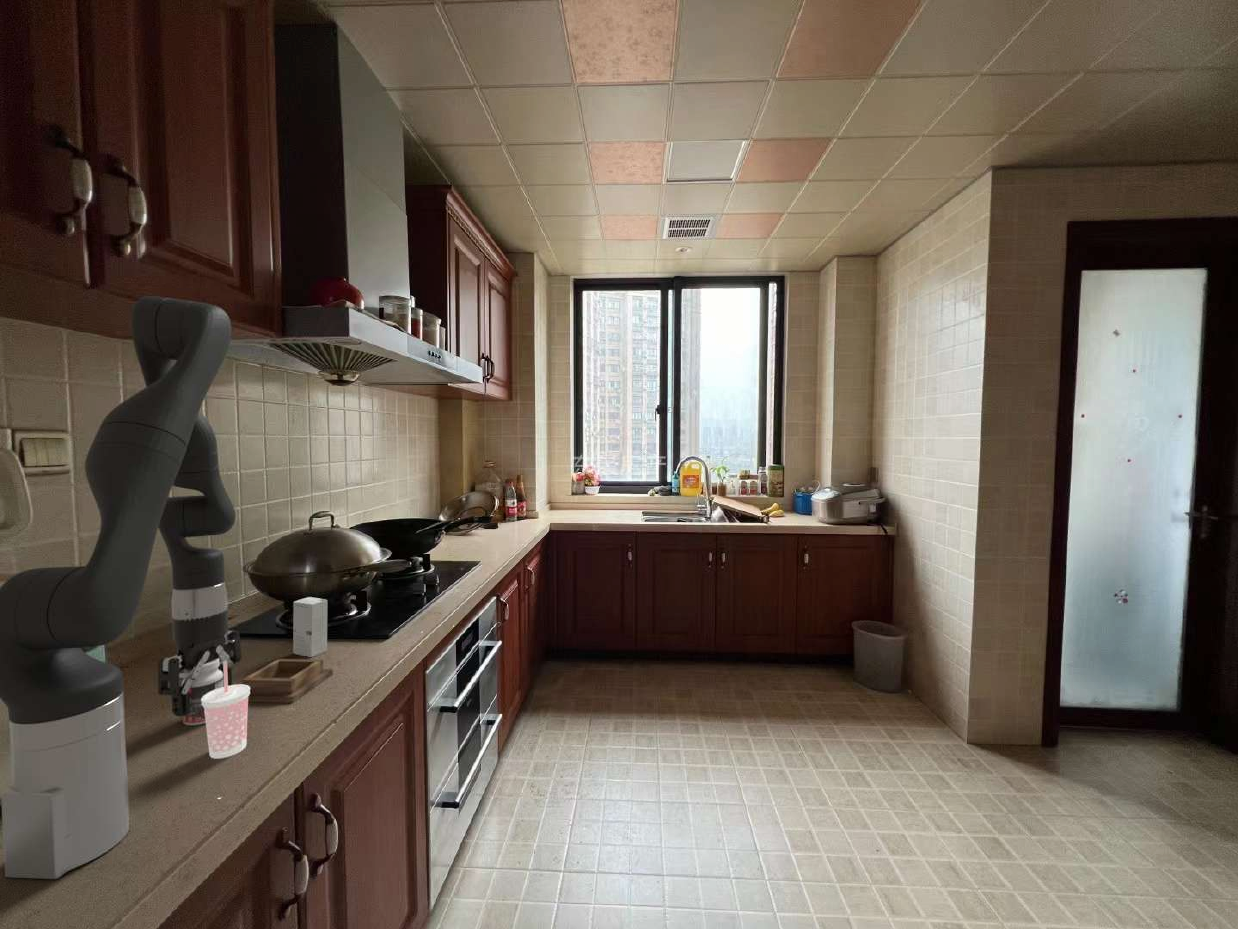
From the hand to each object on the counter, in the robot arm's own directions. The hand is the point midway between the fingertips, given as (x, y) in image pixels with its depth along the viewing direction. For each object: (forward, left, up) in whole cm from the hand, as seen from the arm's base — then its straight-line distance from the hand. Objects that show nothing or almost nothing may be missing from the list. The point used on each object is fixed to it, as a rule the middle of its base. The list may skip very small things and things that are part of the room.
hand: (204, 702), depth 91 cm
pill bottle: (0, 0, -3) cm, 3 cm away
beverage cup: (-9, -12, -3) cm, 15 cm away
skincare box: (+29, 0, -3) cm, 29 cm away
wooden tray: (+12, -6, -3) cm, 14 cm away
